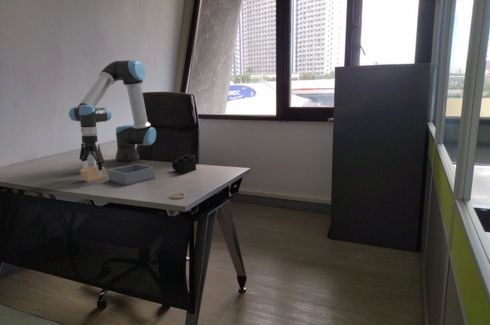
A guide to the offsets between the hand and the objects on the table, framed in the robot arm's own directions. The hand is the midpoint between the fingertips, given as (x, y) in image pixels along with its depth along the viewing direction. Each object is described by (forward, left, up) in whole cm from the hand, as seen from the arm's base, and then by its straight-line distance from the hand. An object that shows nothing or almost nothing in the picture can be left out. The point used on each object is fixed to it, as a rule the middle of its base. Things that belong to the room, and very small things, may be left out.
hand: (92, 174), depth 193 cm
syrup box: (-10, -17, -3) cm, 20 cm away
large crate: (-12, +17, -3) cm, 21 cm away
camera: (-42, +25, -3) cm, 49 cm away
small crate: (0, 0, -3) cm, 3 cm away
